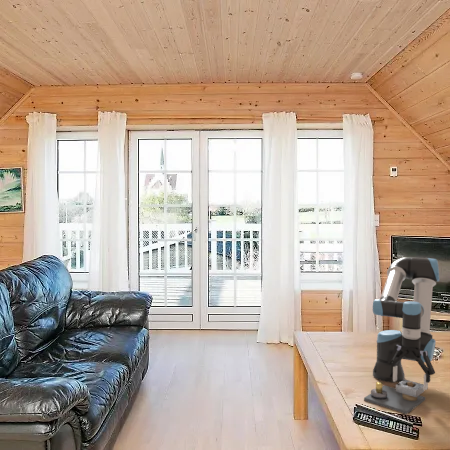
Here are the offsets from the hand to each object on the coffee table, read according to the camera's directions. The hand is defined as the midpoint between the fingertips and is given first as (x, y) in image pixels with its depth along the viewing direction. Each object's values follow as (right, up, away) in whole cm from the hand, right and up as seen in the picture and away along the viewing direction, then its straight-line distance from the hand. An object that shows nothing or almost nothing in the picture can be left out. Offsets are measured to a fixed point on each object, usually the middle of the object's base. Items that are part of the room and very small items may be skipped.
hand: (409, 385), depth 201 cm
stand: (0, -6, +1) cm, 6 cm away
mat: (-6, -7, +1) cm, 10 cm away
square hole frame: (0, -3, +1) cm, 3 cm away
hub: (-13, -6, +2) cm, 14 cm away
